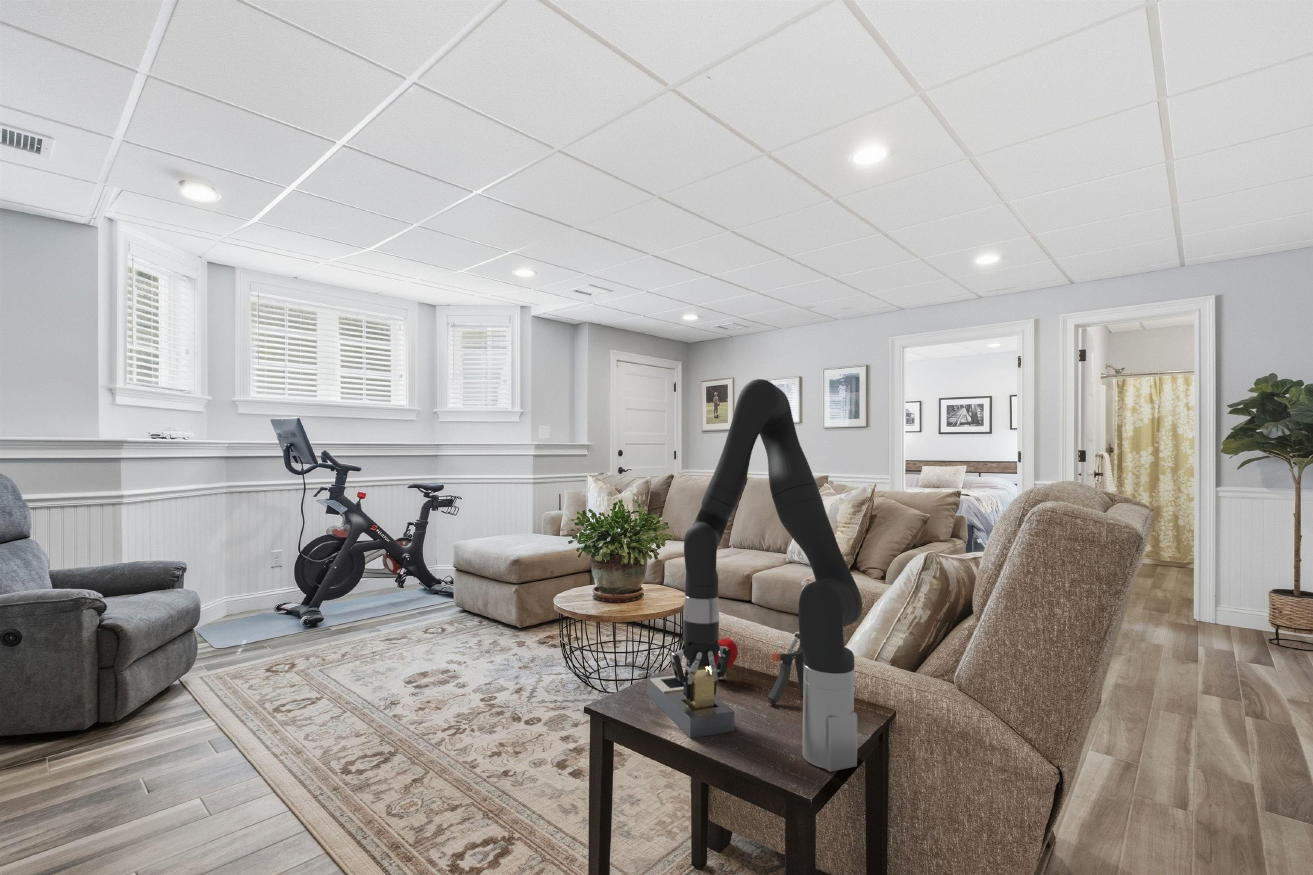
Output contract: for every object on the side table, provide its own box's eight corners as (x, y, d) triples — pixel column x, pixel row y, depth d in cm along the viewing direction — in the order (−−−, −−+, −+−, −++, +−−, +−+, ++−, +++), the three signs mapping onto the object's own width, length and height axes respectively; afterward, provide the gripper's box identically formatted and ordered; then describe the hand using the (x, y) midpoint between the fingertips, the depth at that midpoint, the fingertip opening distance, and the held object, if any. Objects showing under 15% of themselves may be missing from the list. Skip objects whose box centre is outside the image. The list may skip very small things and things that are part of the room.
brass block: (713, 724, 129) (714, 675, 129) (694, 727, 127) (695, 678, 127) (704, 716, 133) (704, 669, 133) (685, 718, 131) (686, 671, 131)
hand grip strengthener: (765, 704, 141) (766, 637, 141) (804, 693, 147) (805, 630, 148) (772, 707, 139) (773, 640, 139) (811, 697, 145) (812, 632, 146)
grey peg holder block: (734, 730, 126) (734, 709, 126) (690, 738, 123) (690, 716, 123) (685, 689, 149) (685, 671, 149) (646, 694, 145) (647, 675, 145)
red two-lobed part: (712, 687, 150) (713, 646, 150) (697, 678, 156) (698, 638, 157) (743, 681, 155) (744, 641, 155) (727, 672, 161) (728, 633, 161)
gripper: (677, 624, 124) (676, 710, 124) (739, 618, 130) (738, 701, 129) (663, 615, 131) (661, 696, 131) (722, 610, 137) (721, 688, 136)
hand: (699, 698), depth 130 cm, fingers closed on brass block, 4 cm apart
